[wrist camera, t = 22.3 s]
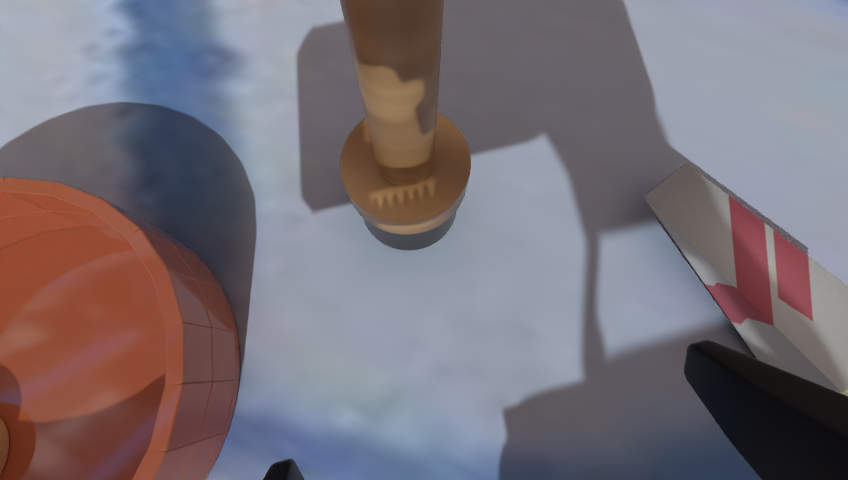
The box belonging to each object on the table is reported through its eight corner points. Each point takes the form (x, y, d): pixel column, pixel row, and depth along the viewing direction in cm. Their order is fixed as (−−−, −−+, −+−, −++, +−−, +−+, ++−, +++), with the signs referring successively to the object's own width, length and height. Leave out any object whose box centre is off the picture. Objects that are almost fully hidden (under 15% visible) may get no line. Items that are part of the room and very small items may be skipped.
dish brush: (441, 268, 19) (477, 85, 7) (341, 234, 20) (201, 4, 7) (473, 176, 20) (552, -118, 8) (379, 146, 21) (317, -175, 9)
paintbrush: (717, 140, 18) (1155, 583, 14) (677, 168, 20) (1034, 545, 16) (654, 189, 17) (1096, 670, 13) (620, 211, 19) (980, 616, 16)
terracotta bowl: (115, 678, 15) (-13, 808, 10) (-220, 509, 16) (-454, 561, 12) (299, 282, 19) (263, 258, 15) (19, 177, 20) (-88, 127, 16)
